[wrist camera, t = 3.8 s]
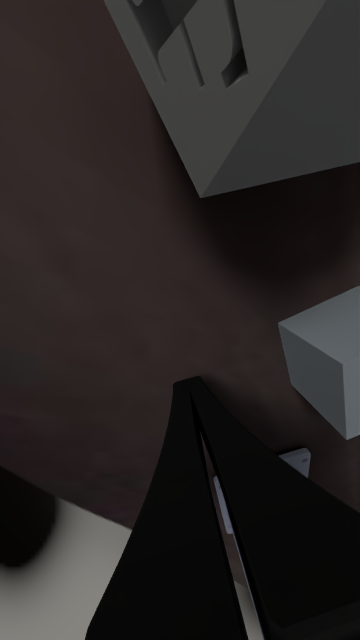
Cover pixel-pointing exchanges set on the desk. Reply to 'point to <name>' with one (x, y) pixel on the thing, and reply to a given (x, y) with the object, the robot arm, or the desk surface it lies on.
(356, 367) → the grey block
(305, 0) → the die
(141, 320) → the desk surface
